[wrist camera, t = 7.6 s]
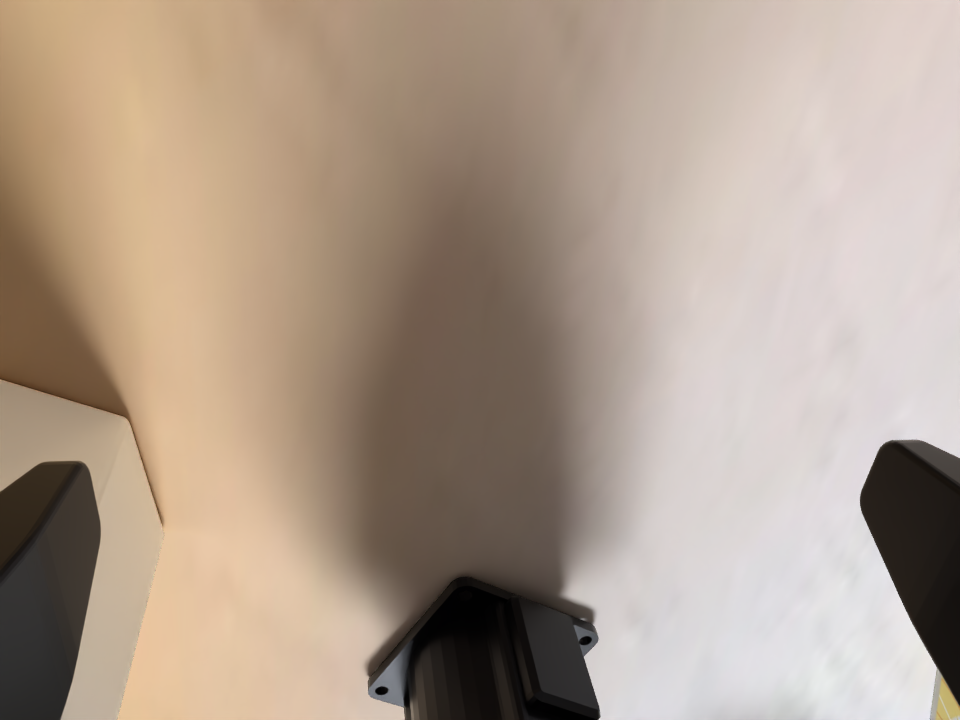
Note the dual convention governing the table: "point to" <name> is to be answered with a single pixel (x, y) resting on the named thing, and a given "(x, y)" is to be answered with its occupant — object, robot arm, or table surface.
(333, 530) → the table surface
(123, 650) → the jar
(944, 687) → the pasta box
